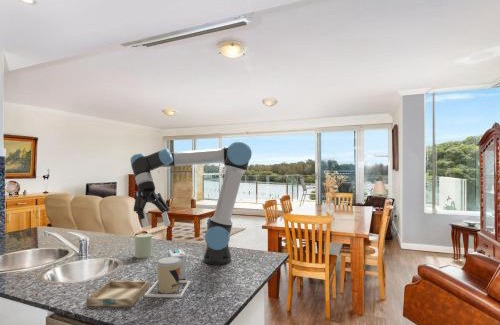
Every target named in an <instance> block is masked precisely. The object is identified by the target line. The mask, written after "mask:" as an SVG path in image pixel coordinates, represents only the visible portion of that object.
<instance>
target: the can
mask: <svg viewBox="0 0 500 325" xmlns="http://www.w3.org/2000/svg"><path fill="white" fill-rule="evenodd" d="M134 239H135V245H134V246H135V247H134V258H137V259H146V258H150V257H152V255H153V252H152V251H153V250H152V249H153V234H152V233H138V234H135V236H134Z"/></svg>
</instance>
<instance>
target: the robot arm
mask: <svg viewBox="0 0 500 325" xmlns="http://www.w3.org/2000/svg"><path fill="white" fill-rule="evenodd" d="M252 156H253V155H252V150H251V147H250V145H249V144H247V143H246V142H244V141H241V140H240V141H238V140H237V141H234V142H232V143H231V144H230V145H228V146H222V147H221V148H217V149H204V150H203V149H201V150H187V151H173V152H171V151H170V150H169V148H164V149H160V150H158V151H156V152H154V153H151V154H148V155H145V154H144V153H137V154H133V155H132V156H131V157H130V164H131V168H132V169H131V170H132V173H133V176H134V178H135V184H136V185H137V190H138V191H137V192H135V193H134V195H135V200H134V205H133V212H135V213H136V214H138V217H139V219H140V221H141V224H142V228H145V227H147V226H149V225H150V224H149V221H148V217H147V212H146V210H145V208H146V205H147V203H151V204H153V205H154V206H156V208H157V209H158V210H159V211H160V212H161V218H162V220H163V224H164V227H168V226H170V225H171V221H170V218H169V213H168V212H169V211H170V210H171V209H170V208H169V206H168V204H167V203H166V201H165V200H164V199H163V197H162V194H161V193H160V192H159V193H156V186H155V183H154V180H153V176H152V171H154V170H157V169H159V168H169V167H179V166H181V167H182V166H197V165H209V164H210V165H211V164H223V166H224V167H225V172H224V176H223V179H222V182H221V187H220V190H219V195H218V199H217V203H216V206H215V210H214V214H213V216H211V217H209V218H207V220H206V224H207V225H206V228H207V229H206V232H205V235H204V241H205V243H206V248H205V251H204V255H203V262H204V263H205V264H208V265H215V266H216V265H225V264H228V263H231V261H232V254H231V250H230V246H229V242H230V235H231V231H232V228H233V222H232V215H233V211H234V208H235V205H236V200H237V196H238V194H239V188H240V185H241V182H242V177H243V174H244V173H246V172H247V171H248V166H249V163H250V160H251V159H252Z"/></svg>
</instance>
